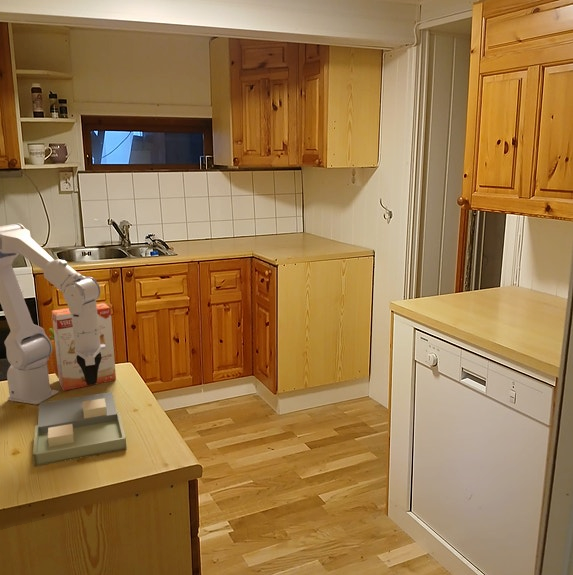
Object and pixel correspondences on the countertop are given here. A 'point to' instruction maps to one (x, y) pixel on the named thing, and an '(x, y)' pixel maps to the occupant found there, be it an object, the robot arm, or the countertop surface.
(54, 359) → the carrot
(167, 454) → the countertop surface
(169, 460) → the countertop surface
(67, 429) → the tile
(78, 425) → the slate plate
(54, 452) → the tray
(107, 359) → the cracker box
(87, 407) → the tile
